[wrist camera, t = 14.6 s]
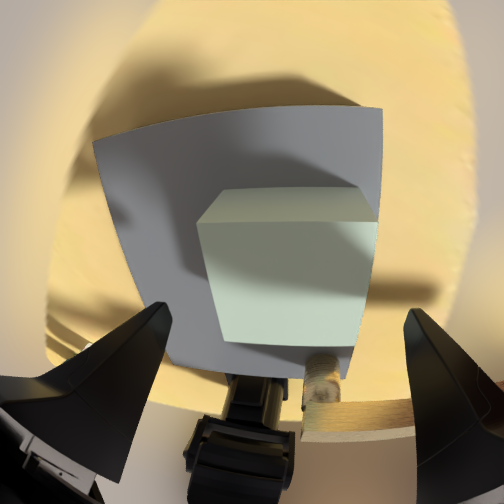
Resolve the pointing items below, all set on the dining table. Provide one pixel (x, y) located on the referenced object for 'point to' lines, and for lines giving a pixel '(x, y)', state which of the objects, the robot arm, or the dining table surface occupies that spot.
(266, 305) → the rectangular block
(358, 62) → the dining table surface
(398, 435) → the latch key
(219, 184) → the box
